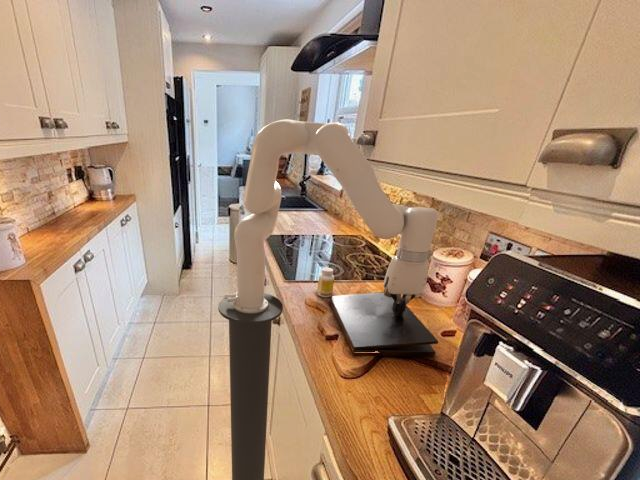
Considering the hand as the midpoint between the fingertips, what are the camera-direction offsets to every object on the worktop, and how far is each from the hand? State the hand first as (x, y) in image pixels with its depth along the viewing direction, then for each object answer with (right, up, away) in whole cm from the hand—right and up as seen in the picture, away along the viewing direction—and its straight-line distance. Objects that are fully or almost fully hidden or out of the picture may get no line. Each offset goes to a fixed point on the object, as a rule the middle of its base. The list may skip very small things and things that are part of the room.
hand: (397, 313), depth 96 cm
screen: (-6, -1, +1) cm, 6 cm away
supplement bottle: (-16, +6, +22) cm, 28 cm away
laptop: (-6, -4, +2) cm, 7 cm away
